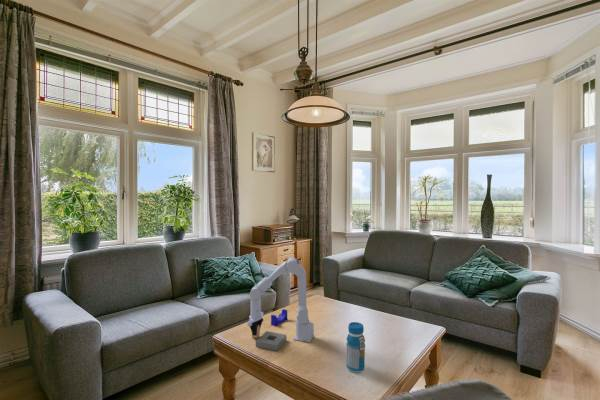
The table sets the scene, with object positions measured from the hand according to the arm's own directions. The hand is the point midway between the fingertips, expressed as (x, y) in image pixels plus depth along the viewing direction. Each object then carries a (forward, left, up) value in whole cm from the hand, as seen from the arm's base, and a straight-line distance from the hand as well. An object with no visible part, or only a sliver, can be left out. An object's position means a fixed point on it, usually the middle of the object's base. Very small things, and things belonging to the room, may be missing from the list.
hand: (255, 333), depth 171 cm
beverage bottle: (-57, +9, -2) cm, 58 cm away
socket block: (-11, +3, -2) cm, 12 cm away
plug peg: (0, 0, -2) cm, 2 cm away
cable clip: (-3, -23, -2) cm, 23 cm away
